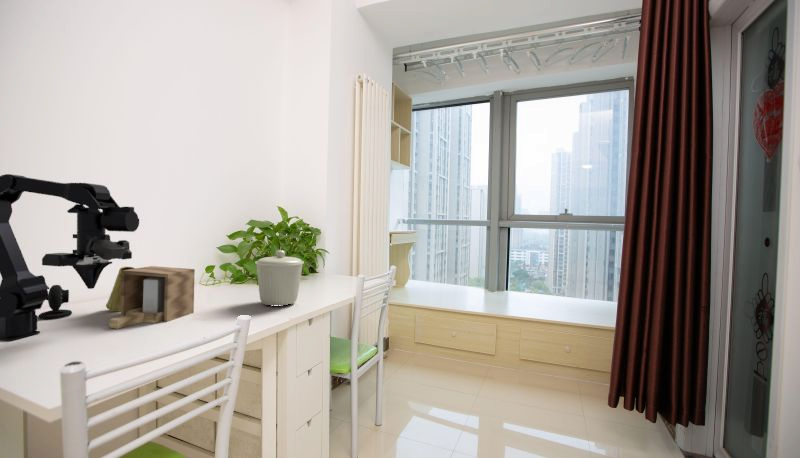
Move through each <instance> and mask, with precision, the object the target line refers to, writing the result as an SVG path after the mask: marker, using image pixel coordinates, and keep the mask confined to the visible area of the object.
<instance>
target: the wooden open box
mask: <svg viewBox="0 0 800 458" xmlns="http://www.w3.org/2000/svg"><path fill="white" fill-rule="evenodd" d="M134 268H135V267H134ZM195 271H196V270H195V269H194V268H181V267H170V266H169V267H168V266H156V265H154V266H152V265H151V266H150V265H149V266H145V267H138V268H137V267H136V268H135V269H129V270H122V271H121V311H120V317H121V316H125V315H126V311H128V310H133V309H137V308H141V307H143V288H144V280H145V279H148V278H150V277H165V301H164V320H163V321H164V322H165V323H167V322H171V321H173V320H176V319H178V318H179V319H180V318H182V317H186V316H188V315H191V314H194V313H195V308H194V307H195V275H196V273H195ZM193 312H194V313H193ZM190 313H191V314H190Z"/></svg>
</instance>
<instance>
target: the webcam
mask: <svg viewBox="0 0 800 458" xmlns="http://www.w3.org/2000/svg"><path fill="white" fill-rule="evenodd" d="M48 290H49V291H48V297H47V298H46V300H45V301H47V302H48V306H49V308H50V309H51V310H46V311H43V312H41V313H39V314H38V315H37V318H38V319H40V320H47V321H48V319H49V320H57V319H63V318H66V317H67V318H68V317H69V316H71V315H72V314H73V312H72V310H70V309H64V308H63V309H62V308H61V307H62V305H63V304H66V303H69V299H70V291H69V289H63V288H62V286H61V285H60V284H53V285H51V287H49V289H48ZM60 308H61V309H60Z"/></svg>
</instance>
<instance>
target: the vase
mask: <svg viewBox="0 0 800 458" xmlns="http://www.w3.org/2000/svg"><path fill="white" fill-rule="evenodd" d="M129 269H135V267H132V266H122V267H120V268H119V270H118V274H117V275H116V278H115V282H114V285H113V288H112V290H111V293H110V295H109V297H108V300H107V302H106V305H105V308H106V309H108V310H109V311H112V312H121V271H122V270H129Z"/></svg>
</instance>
